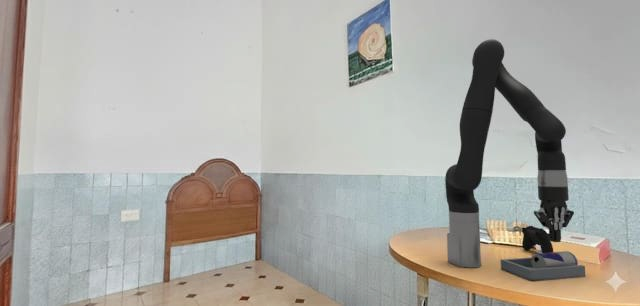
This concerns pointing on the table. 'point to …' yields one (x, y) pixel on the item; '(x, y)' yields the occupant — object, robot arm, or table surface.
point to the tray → (540, 270)
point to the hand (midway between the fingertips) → (555, 241)
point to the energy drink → (553, 259)
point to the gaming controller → (536, 239)
